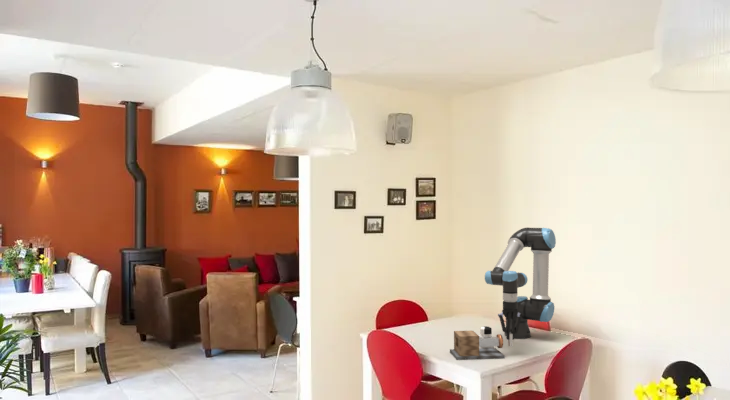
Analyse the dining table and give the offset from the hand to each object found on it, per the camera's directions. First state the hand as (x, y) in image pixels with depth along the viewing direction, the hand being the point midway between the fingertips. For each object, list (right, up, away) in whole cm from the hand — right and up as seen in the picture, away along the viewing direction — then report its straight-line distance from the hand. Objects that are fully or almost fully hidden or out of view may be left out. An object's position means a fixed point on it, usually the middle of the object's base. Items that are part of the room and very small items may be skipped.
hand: (510, 345), depth 285 cm
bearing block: (-18, -4, -2) cm, 19 cm away
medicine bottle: (-11, -5, +10) cm, 15 cm away
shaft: (-14, -1, -1) cm, 14 cm away
